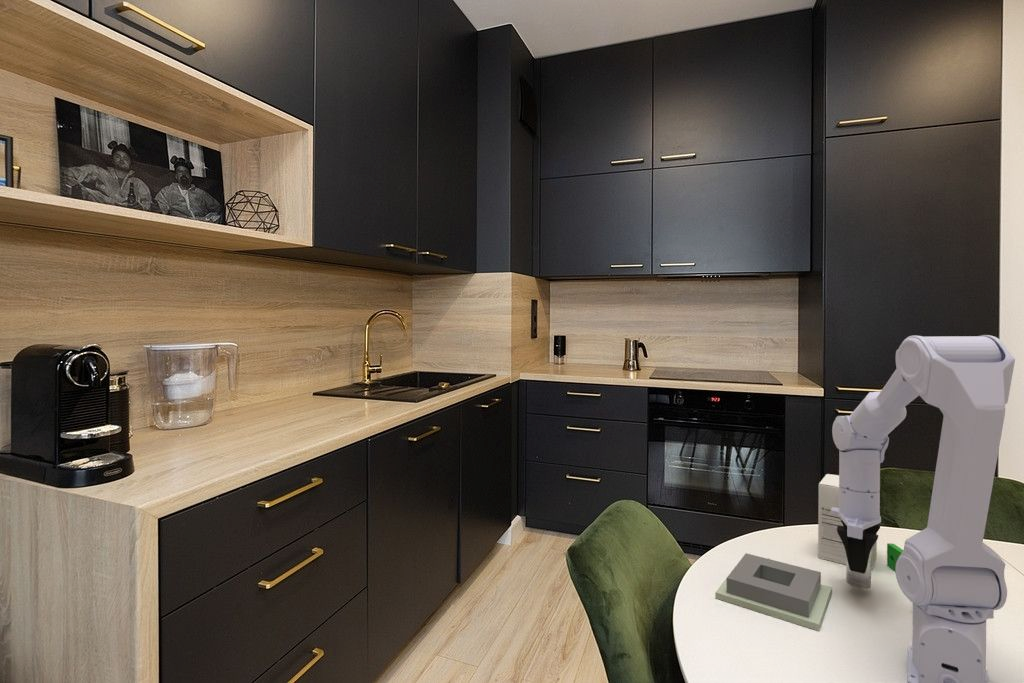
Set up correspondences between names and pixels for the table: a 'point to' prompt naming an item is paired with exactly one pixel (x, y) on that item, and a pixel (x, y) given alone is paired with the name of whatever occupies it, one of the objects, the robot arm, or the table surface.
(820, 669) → the table surface
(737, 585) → the dock
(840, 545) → the supplement box
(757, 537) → the table surface
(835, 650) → the table surface
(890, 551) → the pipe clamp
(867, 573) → the silver metal cylinder
